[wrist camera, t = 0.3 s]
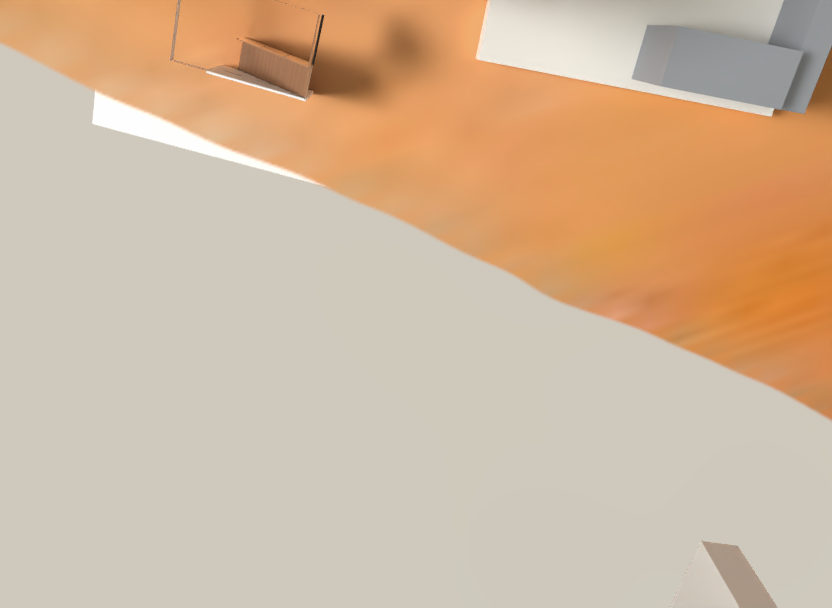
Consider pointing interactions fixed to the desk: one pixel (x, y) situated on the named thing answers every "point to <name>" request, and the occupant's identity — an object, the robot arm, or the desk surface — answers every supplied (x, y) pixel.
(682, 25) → the board
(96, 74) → the desk surface
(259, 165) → the grey frame
